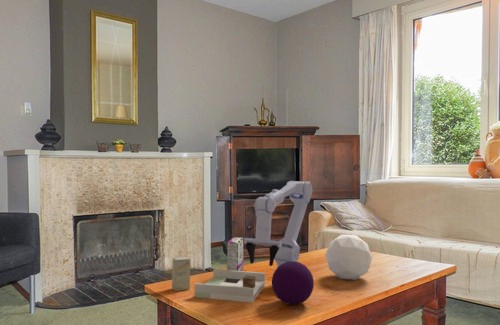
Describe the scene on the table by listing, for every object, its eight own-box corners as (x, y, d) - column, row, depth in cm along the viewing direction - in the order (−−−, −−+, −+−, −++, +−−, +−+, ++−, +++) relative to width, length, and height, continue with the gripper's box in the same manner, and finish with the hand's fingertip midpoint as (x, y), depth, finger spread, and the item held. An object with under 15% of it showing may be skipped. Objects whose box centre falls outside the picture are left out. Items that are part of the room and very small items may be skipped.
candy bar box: (232, 273, 189) (233, 237, 189) (243, 274, 188) (243, 237, 188) (226, 280, 178) (226, 241, 178) (237, 281, 177) (238, 242, 177)
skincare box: (174, 291, 162) (175, 260, 162) (171, 288, 166) (171, 257, 166) (190, 289, 165) (190, 258, 165) (186, 286, 169) (187, 256, 169)
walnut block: (255, 286, 163) (255, 275, 163) (252, 289, 159) (253, 278, 159) (245, 285, 164) (245, 275, 164) (242, 288, 160) (242, 277, 160)
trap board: (265, 285, 171) (265, 272, 171) (252, 302, 150) (252, 288, 150) (214, 280, 177) (214, 269, 177) (194, 297, 155) (195, 283, 155)
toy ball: (265, 307, 146) (265, 264, 146) (279, 294, 159) (280, 255, 159) (306, 313, 140) (307, 269, 140) (318, 300, 153) (318, 259, 153)
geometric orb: (360, 294, 182) (388, 263, 173) (322, 281, 176) (348, 248, 168) (348, 263, 198) (372, 233, 190) (312, 251, 192) (336, 219, 184)
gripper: (242, 227, 159) (239, 263, 158) (278, 231, 154) (276, 268, 153) (248, 226, 166) (246, 260, 165) (283, 229, 160) (282, 265, 160)
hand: (261, 264), depth 159 cm, fingers open, 7 cm apart
